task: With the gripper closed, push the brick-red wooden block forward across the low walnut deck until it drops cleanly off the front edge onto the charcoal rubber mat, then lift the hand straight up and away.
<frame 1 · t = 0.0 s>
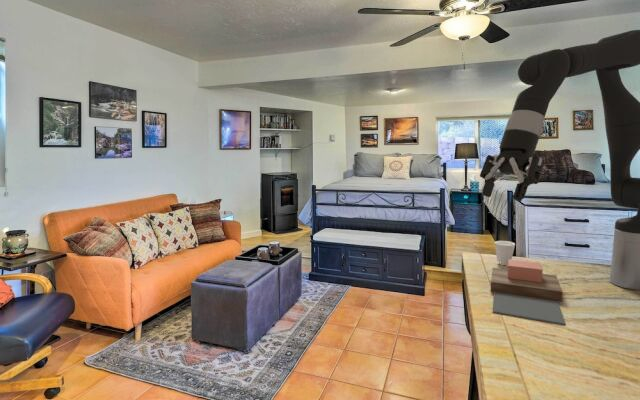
hand: (500, 198, 84), 31 cm above the table, tool tilted 20°, fingers open, 8 cm apart
block: (523, 276, 110), point 3 cm above the table, touching deck
mat: (526, 307, 96), on the table
cup: (505, 263, 132), on the table
deck: (523, 287, 109), on the table
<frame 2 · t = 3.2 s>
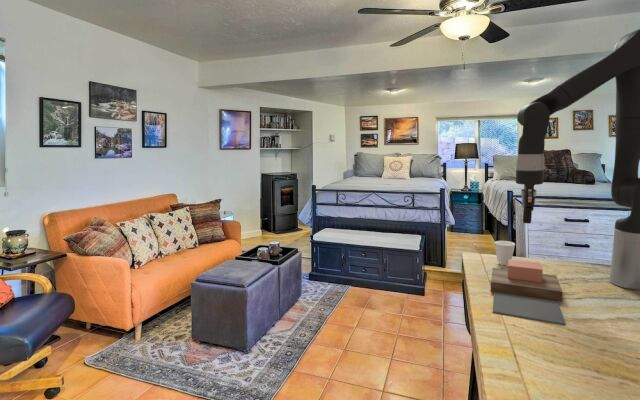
hand: (526, 222, 113), 19 cm above the table, tool pointing down, fingers closed
nothing on the table moved.
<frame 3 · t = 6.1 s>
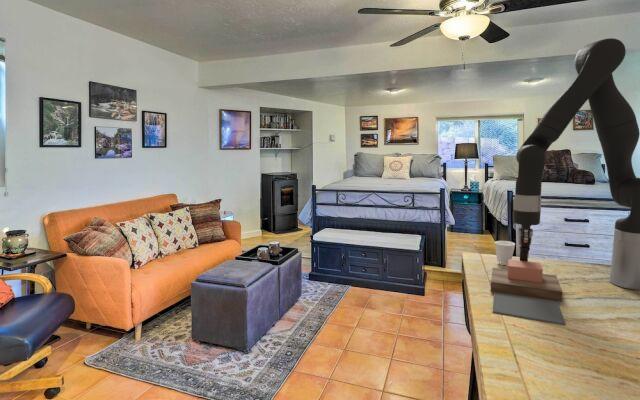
hand: (523, 261, 114), 7 cm above the table, tool pointing down, fingers closed
block: (523, 276, 110), point 3 cm above the table, touching deck, gripper
everything else where it was.
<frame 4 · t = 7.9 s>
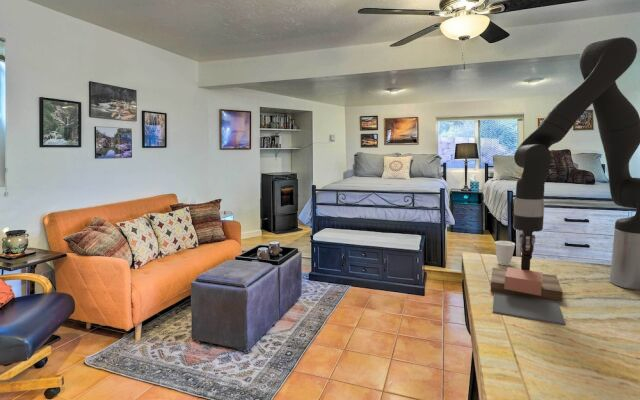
hand: (525, 270, 105), 7 cm above the table, tool pointing down, fingers closed
block: (523, 287, 102), point 3 cm above the table, touching deck, gripper
everything else where it was.
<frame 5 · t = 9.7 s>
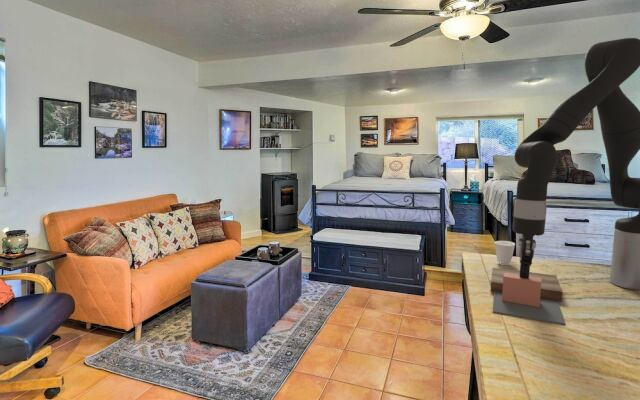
hand: (524, 277, 98), 7 cm above the table, tool pointing down, fingers closed
block: (521, 287, 100), point 4 cm above the table, tilted 88°, touching gripper, mat
everything else where it was.
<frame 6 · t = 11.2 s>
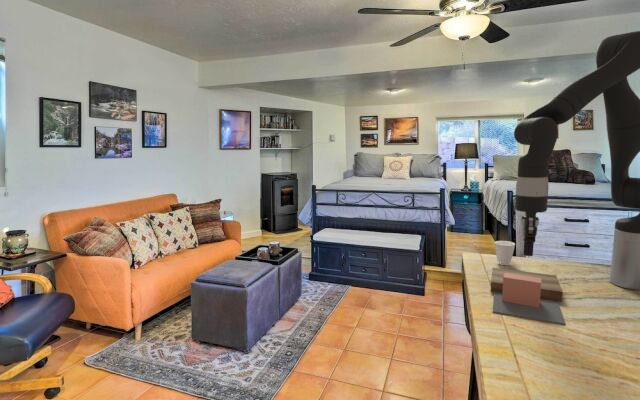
hand: (528, 255, 98), 14 cm above the table, tool pointing down, fingers closed
block: (521, 287, 100), point 4 cm above the table, tilted 90°, touching mat
everything else where it was.
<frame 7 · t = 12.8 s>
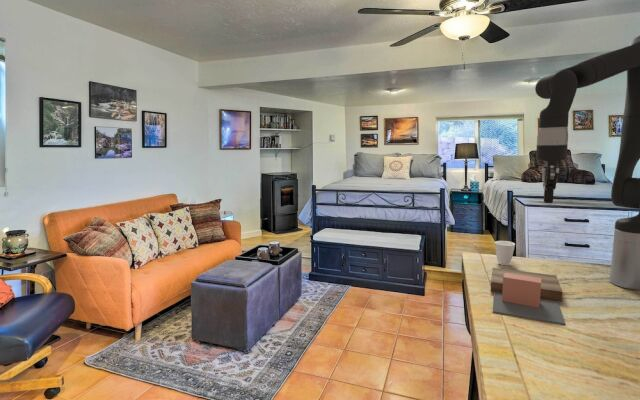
hand: (548, 202, 105), 27 cm above the table, tool pointing down, fingers closed
nothing on the table moved.
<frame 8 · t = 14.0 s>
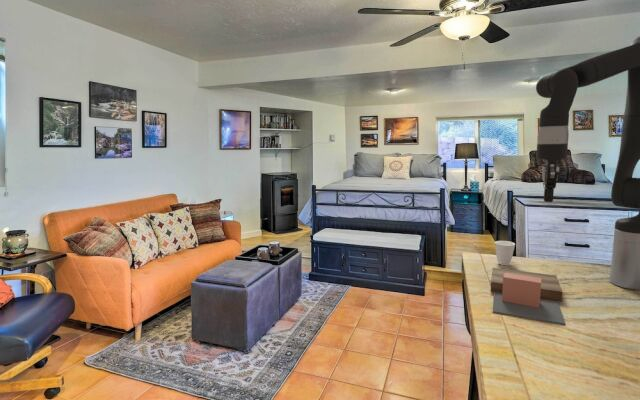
hand: (548, 201, 105), 27 cm above the table, tool pointing down, fingers closed
nothing on the table moved.
at the end: block inside the target area (5.7 cm from its centre), point 3.9 cm above the table; block touching mat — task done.
